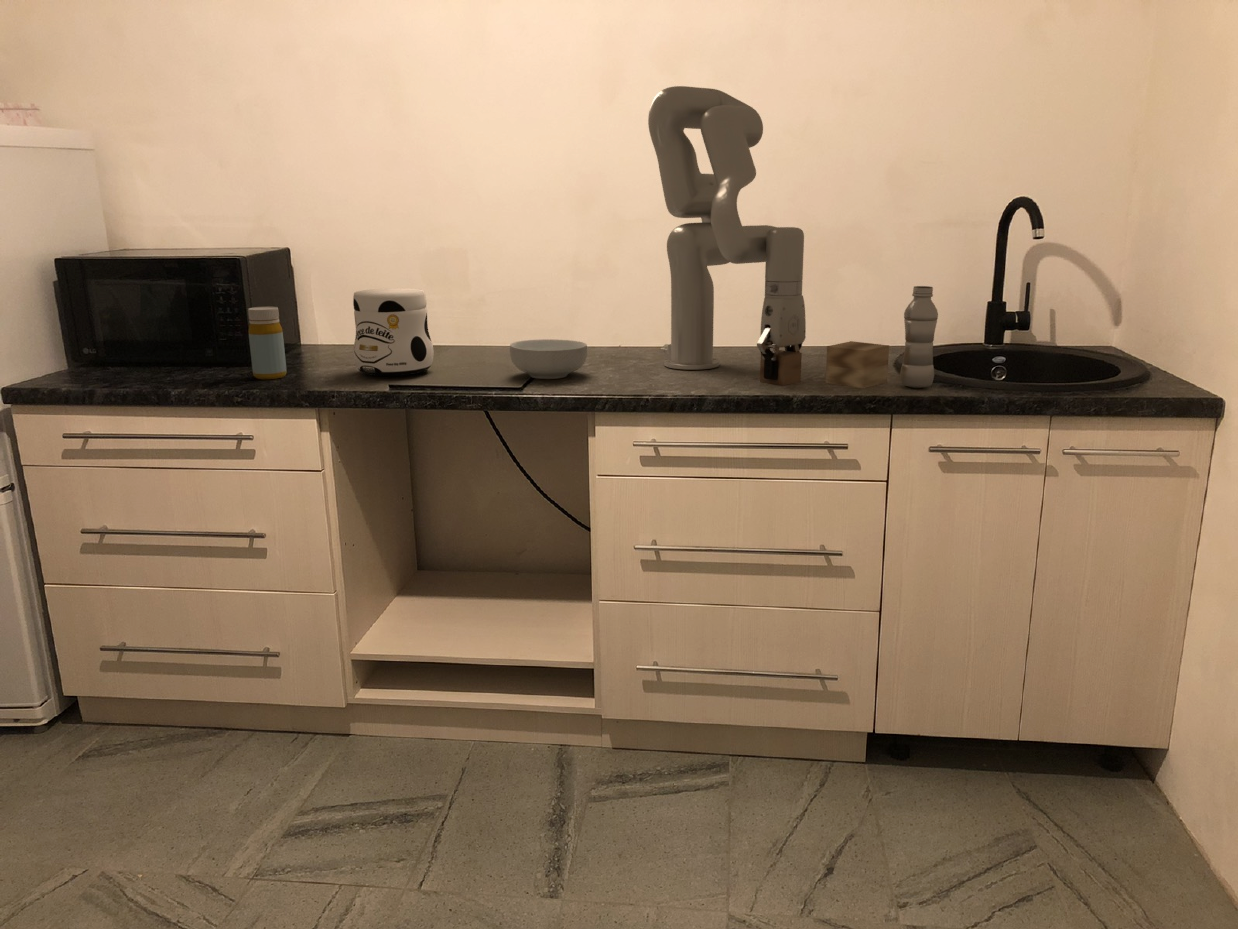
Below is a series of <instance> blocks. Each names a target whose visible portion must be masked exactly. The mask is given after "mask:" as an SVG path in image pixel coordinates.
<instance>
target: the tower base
mask: <svg viewBox="0 0 1238 929" xmlns="http://www.w3.org/2000/svg"><path fill="white" fill-rule="evenodd" d="M888 370H889V364H888V365H885V366H881V367H877V368H873V369H869V370H865V371H864V370H856V369H849V368H841V367H834V366H825V384H831V385H838V386H845V387H853V388H858V389H866V387H867V388H869V387H870V388H871V387H874V386H877V385H882V384H885V383H887V382H888V374H889V373H888Z"/></svg>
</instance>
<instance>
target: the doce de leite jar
mask: <svg viewBox="0 0 1238 929" xmlns="http://www.w3.org/2000/svg"><path fill="white" fill-rule="evenodd" d="M352 296H353V298H352V299H353V300H352V303H353V304H352V305H353V309H354V313H353V314H354V323H355V324H354V325H355V337H354V338H355V339H354V342H353V343H354V344H353V349H352V350H353V351H352V354H353V360H354V365H355V367H356V369H357V370H359V371H360V372H361V373H363V374H366V375H371V376H378V377H398V376H399V377H400V376H408V375H416V374H419V373H421V372H424V371H427V370H428V369H429V368H431V366H432V365H433V362H434V353H435V352H434V346H433V342H432V338H431V336H430V332H429V325H428V309H427V297H426V293H425V290H424V289H420V288H419V289H418V288H403V287H402V288H398V287H397V288H375V289H366V290H358V291H355V292H353V295H352Z"/></svg>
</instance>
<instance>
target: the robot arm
mask: <svg viewBox="0 0 1238 929" xmlns="http://www.w3.org/2000/svg"><path fill="white" fill-rule="evenodd" d="M760 115H761V114H759V112H758V111H757V110H756V109H755V108H753V106H750V105H748V104H747V103H745V102H743V101H741V100H739V99H737V98H736V97H733V96H732V95H730V94H728V93H726V92H724V91H722V90H719V89H717V88H709V87H708V88H707V87H697V86H688V85H687V86H685V85H681V86H679V85H677V86H676V85H675V86H669V87H666V88H663V89H661V90H660V91H659V92H658V93H657V94H656V95H655V96H654V98H653V100H652V101H651V104H650V108H649V110H648V116H647V117H648V120H647V122H648V123H647V124H648V131H649V135H650V139H651V142H652V145H653V149H654V152H655V155H656V160H657V164H658V169H659V174H660V175H659V176H660V180H661V186H662V192H663V197H664V201H665V206H666V209H667V210H668V213H669V214H670V215H672V216H673V217H675V218H678V219H679V218H680V219H699V218H701V219H700V220H701V222H689V223H688V222H687V223H684V224H683V223H682V224H679V225H678V226H676V227H675V228H673V229H672V230H671V231H670V233H669V235H668V237H667V241H666V252H667V258H668V262H669V269H670V270H669V271H670V289H671V290H670V298H671V300H670V303H671V304H670V305H671V306H670V309H671V310H670V313H671V314H670V317H671V318H670V327H671V328H670V343H669V344H667V343H665V344H664V345H663V346H662V347H660V349H659V350H660V351H659V352H660V353H661V354H666V355H667V358H666V359H664V361H663V362H664V364H663V365H664V366H665V367H666V368H669V369H675V370H687V371H688V370H690V371H691V370H692V371H695V370H697V371H699V370H709V369H715V368H718V367H719V366H720V362H721V361H720V360H719V358H715V357H714V314H715V313H714V312H715V311H714V310H715V307H714V306H715V305H714V304H715V301H714V299H715V298H714V297H715V295H714V294H715V291H714V289H715V288H714V282H713V279H712V275H711V273H710V270H709V268H708V267H712V266H722V265H727V264H736V265H738V264H739V265H742V264H753V263H754V264H756V263H757V264H758V263H765V267H764V269H765V272H764V275H765V276H764V280H765V281H764V298H763V304H762V311H761V319H760V337H759V339H758V340H757V342H756V347H757V349H758V350H759V351H760V355H761V354H762V355H763V357H762V358H763V360H764V378H765V379H771V380H777V379H778V361H777V360H776V359H777V355H778V351H779V350H780V349H781V348H784V351H791V352H799V353H801V352H800V350H801V349H802V347H803V343H804V342H805V340H806V338H807V336H806V334H807V332H806V327H807V326H806V324H807V323H806V305H805V299H804V295H803V279H804V278H803V277H804V272H803V271H804V250H805V249H804V248H805V245H804V243H805V233H804V231H803V230H802V228H800V227H795V226H790V227H789V226H783V227H782V226H781V227H779V226H778V227H776V226H773V225H768V224H767V225H766V224H765V225H764V224H763V225H761V224H759V225H758V224H757V225H743V224H742V221H741V219H740V214H739V211H738V198H739V193H740V192H741V190H742V189H744V188H746V186H748V185H750V184H751V183H752V182H753V181H754V180H755V179H756V177H757V170H756V166H755V162H754V160H753V157H752V154H751V150H750V149H751V148H753V147H755V146H756V145H758V144H759V143H760V141H761V139H762V137H763V134H764V123H763V120H762V117H761V116H760ZM685 129H689V130H690V129H691V130H693V129H694V130H700V133H701V136H702V140H703V143H704V146H705V150H706V153H707V156H708V160H709V163H710V167H711V170H712V173H702V172H701V171H700V168H699V164H698V163H699V162H698V158H697V152H696V149H695V148H694V146H693V144H692V142H691V140H690V138H689V137H688V136H687V135H686V133H685V131H684V130H685ZM771 349H773V350H771ZM771 351H773V353H772V352H771Z"/></svg>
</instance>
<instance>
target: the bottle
mask: <svg viewBox="0 0 1238 929" xmlns="http://www.w3.org/2000/svg"><path fill="white" fill-rule="evenodd" d="M247 312H248V313H247V314H248V319H249V321H248V322H249V326H248V341H249V349H250V350H249V351H250V357H251V358H250V359H251V367H252V368H251V369H252V375H253V377H254V378H255V379H256V380H257V379H258V380H274V379H276V380H277V379H282V378H284V377H285V376H286V375H287V363H286V362H287V360H286V353H285V351H286V350H285V343H284V342H285V341H284V334H283V333H284V332H283V328H282V326H281V324H280V314H279V308H278V306H256V307H250V308H247Z"/></svg>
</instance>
